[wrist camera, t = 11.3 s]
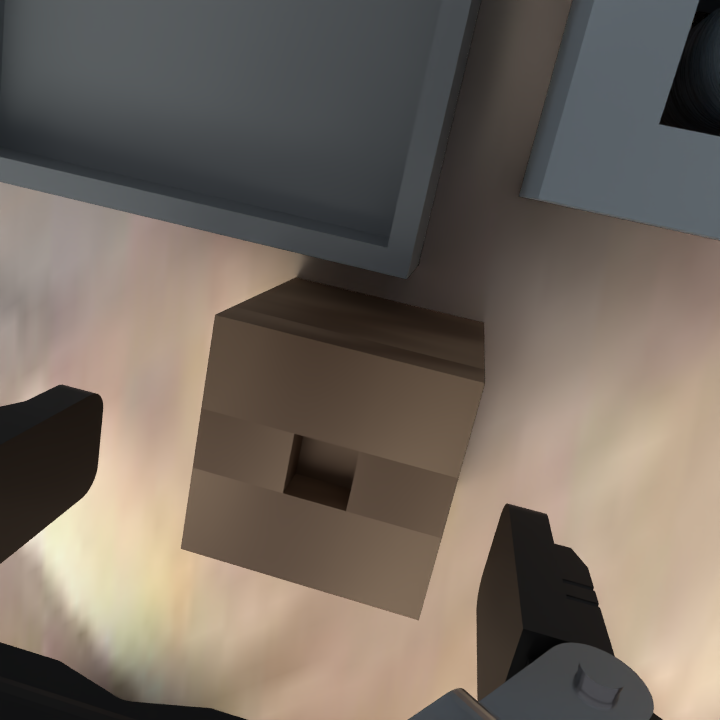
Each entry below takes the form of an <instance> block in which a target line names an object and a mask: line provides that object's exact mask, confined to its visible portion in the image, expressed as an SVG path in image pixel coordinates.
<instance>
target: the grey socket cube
mask: <svg viewBox="0 0 720 720" xmlns="http://www.w3.org/2000/svg"><path fill="white" fill-rule="evenodd" d="M719 7H720V0H573V1H572V4H571V8H570V12H569V15H568V19H567V22H566V26H565V30H564V33H563V37H562V41H561V44H560V48H559V52H558V55H557V59H556V63H555V66H554V70H553V74H552V77H551V81H550V84H549V88H548V92H547V95H546V99H545V103H544V106H543V110H542V114H541V117H540V121H539V125H538V128H537V132H536V136H535V139H534V143H533V147H532V150H531V154H530V157H529V161H528V165H527V168H526V172H525V176H524V179H523V183H522V187H521V190H520V194H519V197H524V198H528V199H533V200H538V201H542V202H547V203H551V204H556V205H560V206H565V207H569V208H574V209H579V210H583V211H588V212H592V213H597V214H601V215H606V216H610V217H615V218H619V219H624V220H629V221H633V222H638V223H642V224H647V225H651V226H656V227H660V228H665V229H670V230H674V231H679V232H683V233H688V234H692V235H697V236H701V237H706V238H710V239H715V240H720V136H715V135H710V134H705V133H700V132H695V131H690V130H685V129H680V128H675V127H670V126H665V125H660V124H659V123H660V120H661V117H662V113H663V110H664V107H665V104H666V101H667V98H668V95H669V92H670V89H671V86H672V83H673V80H674V77H675V73H676V70H677V67H678V64H679V61H680V58H681V55H682V52H683V49H684V46H685V43H686V40H687V37H688V33H689V30H690V27H691V24H692V21H693V18H694V15H695V12H696V11H700V12H706V13H712V12H714V11H715V10H716V9H717V8H719Z"/></svg>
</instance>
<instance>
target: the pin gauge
mask: <svg viewBox="0 0 720 720" xmlns="http://www.w3.org/2000/svg"><path fill="white" fill-rule="evenodd" d="M659 124H660V125H665V126H670V127H675V128H680V129H685V130H690V131H695V132H700V133H705V134H710V135H715V136H720V7H719V8H717V9H716V10H715V11H714V12H712V13H711V14H710V15H708V16H707V17H706V18H704V19H703V20H702V21H701V22H699V23H698V24H697V25H695V26H694V27H693V28H692V29H690V30H689V33H688V37H687V40H686V43H685V46H684V49H683V52H682V55H681V58H680V61H679V64H678V67H677V70H676V73H675V77H674V80H673V83H672V86H671V89H670V92H669V95H668V98H667V101H666V104H665V107H664V110H663V113H662V117H661V120H660V123H659Z"/></svg>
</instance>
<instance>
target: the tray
mask: <svg viewBox="0 0 720 720" xmlns="http://www.w3.org/2000/svg"><path fill="white" fill-rule="evenodd" d="M480 3H481V0H0V182H3V183H8V184H12V185H16V186H20V187H24V188H28V189H33V190H37V191H41V192H45V193H49V194H53V195H58V196H62V197H66V198H70V199H74V200H78V201H83V202H87V203H91V204H95V205H99V206H103V207H108V208H112V209H116V210H120V211H124V212H129V213H133V214H137V215H141V216H145V217H149V218H154V219H158V220H162V221H166V222H170V223H174V224H179V225H183V226H187V227H191V228H195V229H199V230H204V231H208V232H212V233H216V234H220V235H224V236H229V237H233V238H237V239H241V240H245V241H250V242H254V243H258V244H262V245H266V246H270V247H275V248H279V249H283V250H287V251H291V252H295V253H300V254H304V255H308V256H312V257H316V258H320V259H325V260H329V261H333V262H337V263H341V264H345V265H350V266H354V267H358V268H362V269H366V270H371V271H375V272H379V273H383V274H387V275H391V276H396V277H400V278H404V279H407V278H408V277H409V276H410V274H411V273H412V272H413V271H414V270H415V269H416V267H417V266H418V265H419V261H420V256H421V252H422V248H423V244H424V239H425V235H426V231H427V227H428V223H429V218H430V214H431V210H432V206H433V202H434V197H435V193H436V189H437V185H438V180H439V176H440V172H441V168H442V164H443V159H444V155H445V151H446V147H447V143H448V138H449V134H450V130H451V126H452V121H453V117H454V113H455V109H456V105H457V100H458V96H459V92H460V88H461V84H462V79H463V75H464V71H465V67H466V62H467V58H468V54H469V50H470V46H471V41H472V37H473V33H474V29H475V25H476V20H477V16H478V12H479V8H480Z"/></svg>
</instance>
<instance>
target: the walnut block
mask: <svg viewBox="0 0 720 720" xmlns="http://www.w3.org/2000/svg"><path fill="white" fill-rule="evenodd" d="M484 385H485V357H484V323H483V322H479V321H474V320H470V319H466V318H462V317H458V316H454V315H450V314H445V313H441V312H437V311H433V310H429V309H425V308H421V307H417V306H412V305H408V304H404V303H400V302H396V301H392V300H388V299H383V298H379V297H375V296H371V295H367V294H363V293H359V292H355V291H350V290H346V289H342V288H338V287H334V286H330V285H326V284H321V283H317V282H313V281H309V280H305V279H301V278H297V277H296V278H294V279H292V280H289V281H287V282H285V283H283V284H281V285H279V286H276V287H274V288H272V289H270V290H268V291H266V292H263V293H261V294H259V295H257V296H255V297H253V298H251V299H248V300H246V301H244V302H242V303H240V304H238V305H235V306H233V307H231V308H229V309H227V310H225V311H223V312H220V313H218V314H216V315H215V320H214V326H213V333H212V340H211V347H210V354H209V360H208V367H207V374H206V381H205V388H204V395H203V401H202V408H201V415H200V422H199V429H198V435H197V442H196V449H195V456H194V463H193V470H192V476H191V483H190V490H189V497H188V504H187V510H186V517H185V524H184V531H183V538H182V545H181V549H184V550H187V551H190V552H193V553H197V554H200V555H203V556H207V557H210V558H213V559H217V560H220V561H223V562H227V563H230V564H233V565H237V566H240V567H243V568H247V569H250V570H253V571H257V572H260V573H263V574H267V575H270V576H273V577H277V578H280V579H283V580H287V581H290V582H293V583H297V584H300V585H303V586H307V587H310V588H313V589H316V590H320V591H323V592H326V593H330V594H333V595H336V596H340V597H343V598H346V599H350V600H353V601H356V602H360V603H363V604H366V605H370V606H373V607H376V608H380V609H383V610H386V611H390V612H393V613H396V614H400V615H403V616H406V617H410V618H413V619H416V620H419V617H420V614H421V610H422V607H423V603H424V599H425V596H426V592H427V589H428V585H429V582H430V578H431V574H432V571H433V567H434V564H435V560H436V557H437V553H438V549H439V546H440V542H441V539H442V535H443V532H444V528H445V524H446V521H447V517H448V514H449V510H450V507H451V503H452V499H453V496H454V492H455V489H456V485H457V482H458V478H459V474H460V471H461V467H462V464H463V460H464V456H465V453H466V449H467V446H468V442H469V439H470V435H471V431H472V428H473V424H474V421H475V417H476V414H477V410H478V406H479V403H480V399H481V396H482V392H483V389H484Z"/></svg>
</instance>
